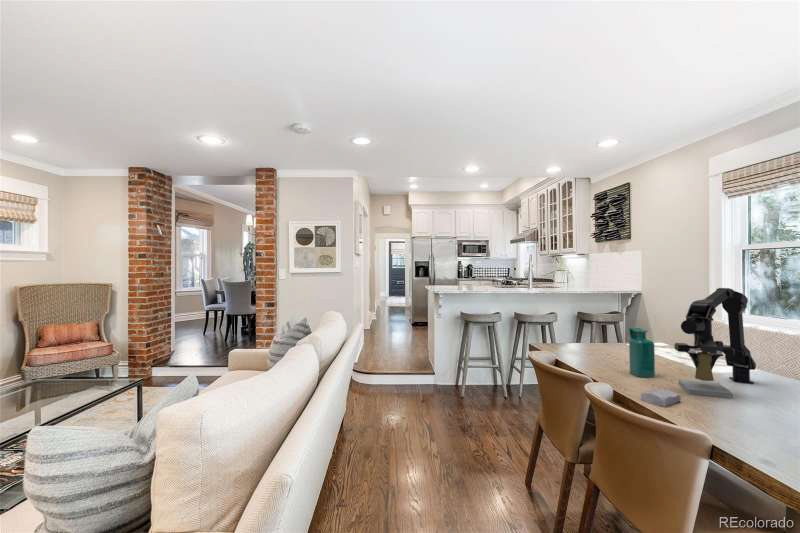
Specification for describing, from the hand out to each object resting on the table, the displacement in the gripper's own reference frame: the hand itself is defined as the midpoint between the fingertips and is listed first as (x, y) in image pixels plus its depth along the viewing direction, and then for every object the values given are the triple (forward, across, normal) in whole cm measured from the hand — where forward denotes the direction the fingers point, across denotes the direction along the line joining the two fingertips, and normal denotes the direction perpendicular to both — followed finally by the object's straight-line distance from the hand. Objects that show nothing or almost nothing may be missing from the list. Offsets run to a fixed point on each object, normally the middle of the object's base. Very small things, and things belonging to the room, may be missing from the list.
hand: (703, 369), depth 151 cm
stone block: (+9, -20, -20) cm, 30 cm away
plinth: (+9, 0, 0) cm, 9 cm away
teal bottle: (+9, -19, +18) cm, 28 cm away
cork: (+4, 0, 0) cm, 4 cm away
